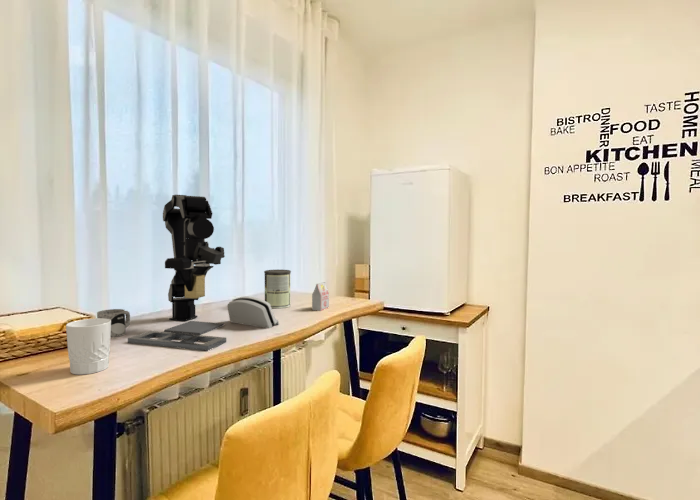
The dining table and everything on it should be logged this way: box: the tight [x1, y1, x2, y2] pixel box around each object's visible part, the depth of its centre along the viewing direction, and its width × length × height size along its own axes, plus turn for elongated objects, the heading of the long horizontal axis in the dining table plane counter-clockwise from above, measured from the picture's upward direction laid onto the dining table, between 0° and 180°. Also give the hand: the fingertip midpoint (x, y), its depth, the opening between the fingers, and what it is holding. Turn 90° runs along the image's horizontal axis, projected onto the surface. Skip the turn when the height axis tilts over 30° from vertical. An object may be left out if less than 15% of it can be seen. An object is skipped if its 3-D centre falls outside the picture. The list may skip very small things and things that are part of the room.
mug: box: [96, 308, 131, 338], centre depth 111 cm, size 10×7×7 cm
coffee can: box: [263, 269, 292, 310], centre depth 153 cm, size 10×10×14 cm
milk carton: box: [311, 282, 330, 312], centre depth 149 cm, size 4×7×10 cm, turn 157°
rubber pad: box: [163, 320, 225, 335], centre depth 117 cm, size 12×12×1 cm
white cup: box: [65, 317, 112, 376], centre depth 82 cm, size 8×8×10 cm
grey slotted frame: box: [127, 330, 227, 352], centre depth 102 cm, size 24×8×1 cm, turn 75°
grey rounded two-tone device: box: [227, 296, 280, 329], centre depth 123 cm, size 17×5×10 cm, turn 62°
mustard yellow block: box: [185, 274, 206, 299], centre depth 116 cm, size 4×4×6 cm
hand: (194, 290), depth 117 cm, fingers closed on mustard yellow block, 4 cm apart
